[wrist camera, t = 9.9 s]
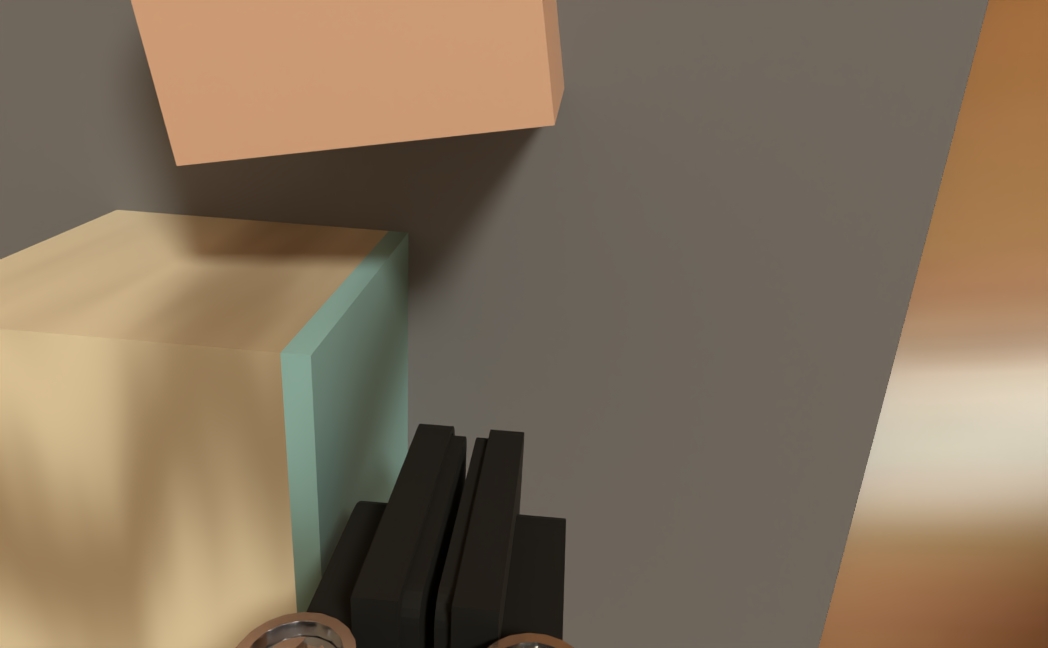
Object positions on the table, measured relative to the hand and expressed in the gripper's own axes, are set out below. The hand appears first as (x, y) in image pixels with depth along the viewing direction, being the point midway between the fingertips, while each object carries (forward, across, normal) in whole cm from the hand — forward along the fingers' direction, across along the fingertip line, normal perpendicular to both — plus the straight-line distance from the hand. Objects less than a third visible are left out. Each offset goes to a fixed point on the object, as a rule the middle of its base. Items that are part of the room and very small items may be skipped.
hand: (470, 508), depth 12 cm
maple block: (+2, +2, 0) cm, 3 cm away
